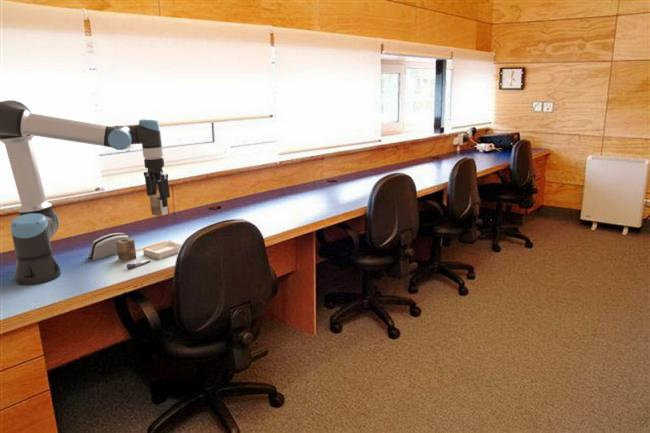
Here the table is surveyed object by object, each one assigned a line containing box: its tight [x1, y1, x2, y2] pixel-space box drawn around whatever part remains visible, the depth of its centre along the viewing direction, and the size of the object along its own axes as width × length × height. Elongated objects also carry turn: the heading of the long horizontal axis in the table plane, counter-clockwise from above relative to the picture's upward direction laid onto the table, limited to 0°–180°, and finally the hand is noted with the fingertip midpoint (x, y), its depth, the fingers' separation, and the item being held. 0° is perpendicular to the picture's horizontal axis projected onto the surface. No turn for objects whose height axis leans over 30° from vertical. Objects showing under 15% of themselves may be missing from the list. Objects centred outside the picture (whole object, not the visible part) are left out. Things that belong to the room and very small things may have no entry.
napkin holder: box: [87, 232, 130, 261], centre depth 214 cm, size 17×5×10 cm, turn 143°
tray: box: [142, 240, 183, 260], centre depth 215 cm, size 14×11×3 cm
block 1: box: [116, 237, 137, 263], centre depth 208 cm, size 5×5×8 cm
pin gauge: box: [126, 259, 151, 270], centre depth 201 cm, size 10×2×2 cm, turn 143°
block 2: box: [148, 193, 170, 217], centre depth 209 cm, size 5×5×8 cm
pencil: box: [135, 240, 167, 252], centre depth 223 cm, size 1×18×1 cm, turn 142°
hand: (160, 213), depth 210 cm, fingers closed on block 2, 5 cm apart
